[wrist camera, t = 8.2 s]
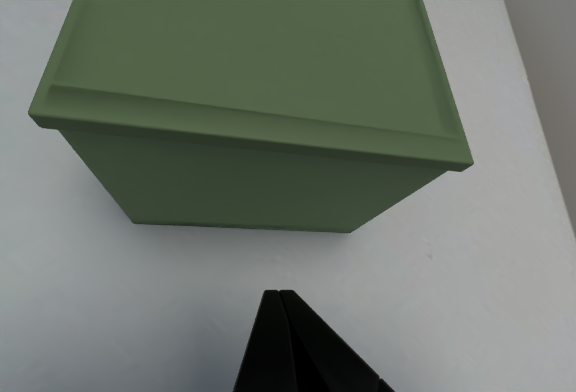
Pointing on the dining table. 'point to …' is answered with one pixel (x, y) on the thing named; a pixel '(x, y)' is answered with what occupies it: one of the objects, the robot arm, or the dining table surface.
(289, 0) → the storage box
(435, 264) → the dining table surface
